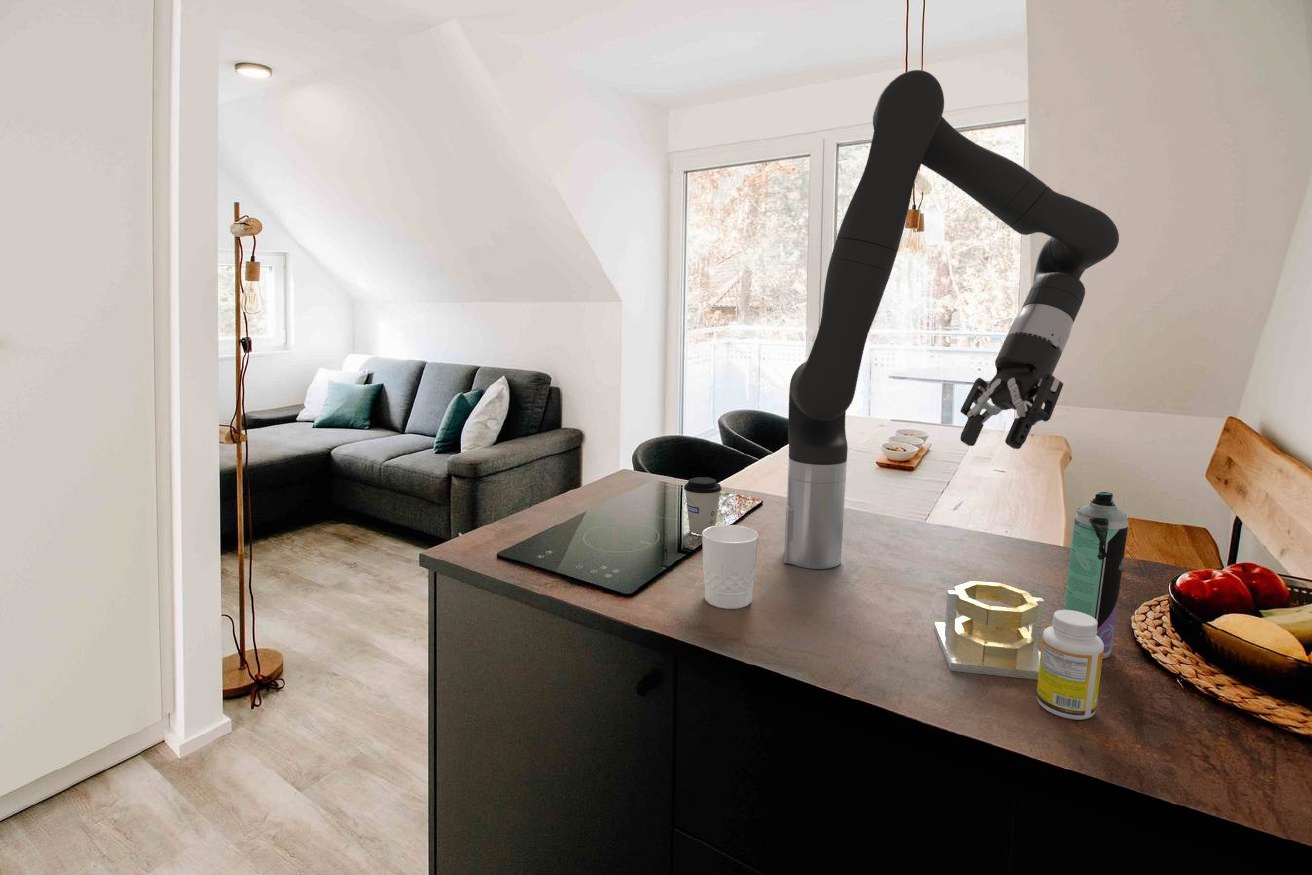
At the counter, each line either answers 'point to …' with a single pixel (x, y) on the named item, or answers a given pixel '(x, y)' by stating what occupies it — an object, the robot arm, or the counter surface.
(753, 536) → the white cup
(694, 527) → the coffee cup
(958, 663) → the collar stand
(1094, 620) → the supplement bottle
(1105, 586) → the spray can
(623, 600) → the counter surface
